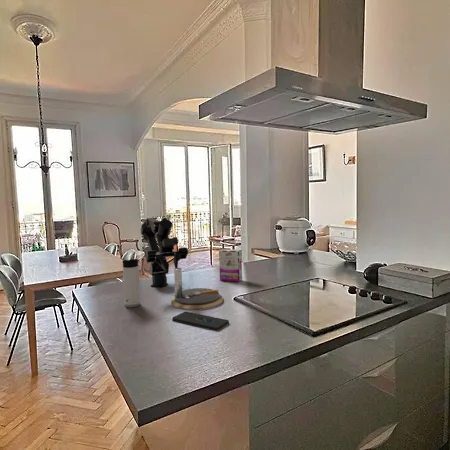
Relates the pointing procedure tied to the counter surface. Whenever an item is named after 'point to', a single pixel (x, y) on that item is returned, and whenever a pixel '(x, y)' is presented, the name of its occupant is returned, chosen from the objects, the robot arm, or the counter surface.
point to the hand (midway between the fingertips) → (171, 270)
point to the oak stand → (196, 307)
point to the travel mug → (131, 283)
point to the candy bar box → (230, 265)
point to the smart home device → (201, 321)
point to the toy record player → (192, 292)
